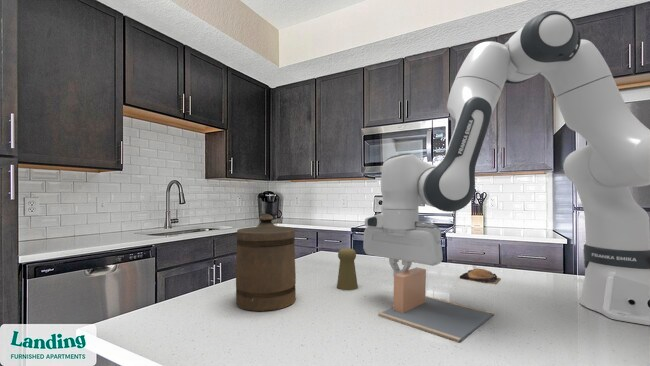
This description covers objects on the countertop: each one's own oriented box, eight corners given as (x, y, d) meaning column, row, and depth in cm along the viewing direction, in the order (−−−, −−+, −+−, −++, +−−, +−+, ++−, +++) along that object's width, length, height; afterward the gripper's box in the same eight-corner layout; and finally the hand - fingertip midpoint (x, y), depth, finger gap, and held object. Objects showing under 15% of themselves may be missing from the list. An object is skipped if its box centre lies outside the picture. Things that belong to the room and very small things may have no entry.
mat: (493, 315, 71) (493, 312, 71) (459, 342, 58) (459, 339, 58) (419, 296, 84) (419, 294, 84) (378, 315, 71) (378, 313, 71)
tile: (425, 302, 78) (426, 269, 78) (402, 313, 71) (403, 277, 71) (416, 299, 80) (416, 267, 80) (393, 309, 73) (394, 274, 73)
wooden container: (283, 288, 91) (283, 211, 92) (304, 305, 78) (304, 214, 79) (230, 297, 84) (230, 213, 85) (244, 316, 71) (243, 217, 72)
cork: (362, 287, 91) (361, 249, 92) (345, 291, 88) (345, 251, 88) (349, 282, 96) (348, 246, 97) (332, 286, 93) (332, 248, 93)
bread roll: (502, 280, 100) (501, 268, 100) (496, 287, 93) (495, 274, 93) (465, 274, 106) (465, 263, 106) (457, 280, 100) (457, 268, 100)
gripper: (447, 222, 73) (448, 284, 72) (374, 217, 87) (374, 268, 87) (433, 224, 68) (434, 290, 68) (359, 219, 83) (359, 272, 82)
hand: (400, 277), depth 77 cm, fingers closed
